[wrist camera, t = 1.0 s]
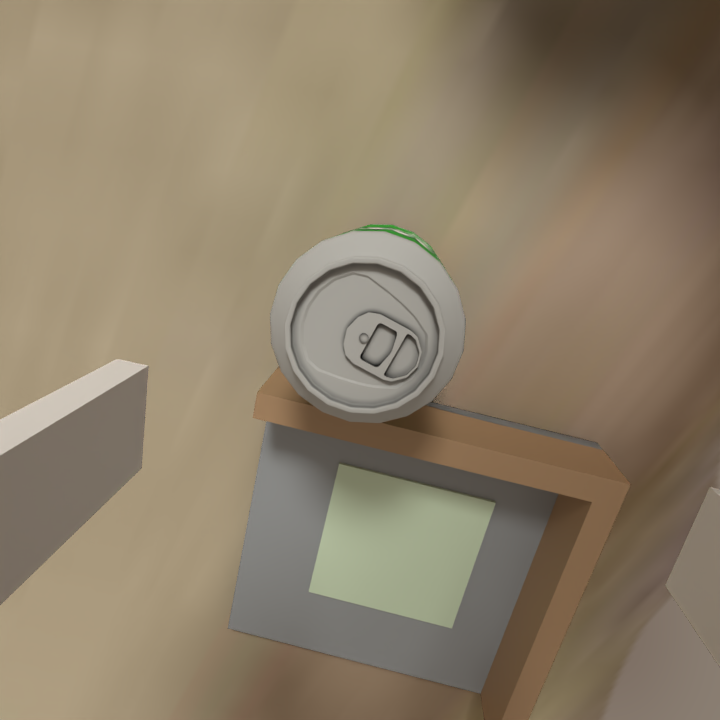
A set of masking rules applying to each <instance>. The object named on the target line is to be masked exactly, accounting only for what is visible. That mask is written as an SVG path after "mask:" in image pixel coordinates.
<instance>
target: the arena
mask: <svg viewBox="0 0 720 720" xmlns="http://www.w3.org/2000/svg"><path fill="white" fill-rule="evenodd" d="M253 418H256V419H260V420H264V421H267V422H266V427H265V432H264V438H263V443H262V448H261V454H260V459H259V464H258V470H257V475H256V481H255V486H254V491H253V497H252V502H251V507H250V513H249V518H248V523H247V529H246V534H245V540H244V545H243V550H242V556H241V561H240V566H239V572H238V577H237V582H236V588H235V593H234V599H233V604H232V609H231V615H230V620H229V625H228V628H229V629H233V630H236V631H240V632H244V633H248V634H252V635H256V636H260V637H263V638H267V639H271V640H275V641H279V642H283V643H287V644H291V645H294V646H298V647H302V648H306V649H310V650H314V651H318V652H321V653H325V654H329V655H333V656H337V657H341V658H345V659H348V660H352V661H356V662H360V663H364V664H368V665H372V666H375V667H379V668H383V669H387V670H391V671H395V672H399V673H402V674H406V675H410V676H414V677H418V678H422V679H426V680H429V681H433V682H437V683H441V684H445V685H449V686H453V687H456V688H460V689H464V690H468V691H472V692H476V693H480V694H481V700H482V707H483V714H484V720H528V719H529V717H530V715H531V712H532V710H533V708H534V706H535V703H536V701H537V699H538V696H539V694H540V692H541V689H542V687H543V685H544V683H545V680H546V678H547V676H548V673H549V671H550V669H551V667H552V664H553V662H554V660H555V657H556V655H557V653H558V651H559V648H560V646H561V644H562V641H563V639H564V637H565V634H566V632H567V630H568V628H569V625H570V623H571V621H572V618H573V616H574V614H575V612H576V609H577V607H578V605H579V602H580V600H581V598H582V595H583V593H584V591H585V589H586V586H587V584H588V582H589V579H590V577H591V575H592V573H593V570H594V568H595V566H596V563H597V561H598V559H599V556H600V554H601V552H602V550H603V547H604V545H605V543H606V540H607V538H608V536H609V534H610V531H611V529H612V527H613V524H614V522H615V520H616V517H617V515H618V513H619V511H620V508H621V506H622V504H623V501H624V499H625V497H626V495H627V492H628V490H629V488H630V485H631V484H630V483H629V482H628V480H627V479H626V478H625V477H624V476H623V474H622V473H621V472H620V471H619V469H618V468H617V467H616V466H615V464H614V463H613V462H612V461H611V459H610V458H609V457H608V456H607V454H606V453H605V452H604V451H603V450H602V448H601V447H600V446H599V445H598V443H596V442H592V441H588V440H584V439H580V438H576V437H572V436H568V435H563V434H559V433H555V432H551V431H547V430H543V429H539V428H535V427H531V426H527V425H523V424H519V423H515V422H511V421H506V420H502V419H498V418H494V417H490V416H486V415H482V414H478V413H474V412H470V411H466V410H462V409H458V408H454V407H449V406H445V405H441V404H437V403H433V402H430V403H428V404H426V405H425V406H423V407H421V408H420V409H418V410H417V411H415V412H413V413H412V414H410V415H408V416H406V417H402V418H398V419H394V420H390V421H386V422H382V423H365V422H349V421H346V420H343V419H341V418H338V417H335V416H332V415H329V414H327V413H324V412H322V411H320V410H319V409H317V408H316V407H315V406H313V405H312V404H311V403H309V402H308V401H307V400H305V399H304V398H302V397H301V396H300V395H298V393H297V392H296V391H295V389H294V388H293V387H292V385H291V384H290V383H289V381H288V380H287V379H286V377H285V376H284V375H283V373H282V372H281V370H280V367H278V368H277V369H276V370H275V372H274V373H273V374H272V375H271V376H270V378H269V379H268V380H267V381H266V382H265V384H264V385H263V386H262V387H261V388H260V390H259V391H258V392H257V397H256V403H255V408H254V414H253ZM339 462H340V463H344V464H348V465H352V466H356V467H360V468H364V469H368V470H372V471H376V472H380V473H384V474H388V475H392V476H396V477H400V478H404V479H408V480H412V481H416V482H420V483H424V484H428V485H432V486H436V487H440V488H444V489H448V490H452V491H456V492H460V493H464V494H468V495H472V496H476V497H480V498H484V499H488V500H492V501H495V502H496V504H495V507H494V510H493V512H492V515H491V518H490V521H489V524H488V527H487V529H486V532H485V535H484V538H483V541H482V544H481V547H480V549H479V552H478V555H477V558H476V561H475V564H474V567H473V569H472V572H471V575H470V578H469V581H468V584H467V587H466V589H465V592H464V595H463V598H462V601H461V604H460V606H459V609H458V612H457V615H456V618H455V621H454V624H453V626H452V629H451V628H448V627H444V626H440V625H436V624H432V623H428V622H424V621H420V620H416V619H412V618H409V617H405V616H401V615H397V614H393V613H389V612H385V611H381V610H377V609H373V608H370V607H366V606H362V605H358V604H354V603H350V602H346V601H342V600H338V599H334V598H331V597H327V596H323V595H319V594H315V593H311V592H309V588H310V583H311V579H312V575H313V571H314V567H315V562H316V558H317V554H318V550H319V546H320V542H321V537H322V533H323V529H324V525H325V521H326V516H327V512H328V508H329V504H330V500H331V496H332V491H333V487H334V483H335V479H336V475H337V470H338V466H339Z"/></svg>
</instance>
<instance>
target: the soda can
mask: <svg viewBox="0 0 720 720" xmlns="http://www.w3.org/2000/svg"><path fill="white" fill-rule="evenodd" d="M270 325H271V345H272V348H273V350H274V353H275V356H276V359H277V362H278V364H279V367H280V370H281V372H282V373H283V375H284V376H285V377H286V379H287V380H288V381H289V383H290V384H291V385H292V387H293V388H294V389H295V391H296V392H297V393H298V395H300V396H301V397H302V398H304V399H305V400H307V401H308V402H309V403H311V404H312V405H313V406H315V407H316V408H317V409H319V410H320V411H322V412H324V413H327V414H329V415H332V416H335V417H338V418H341V419H343V420H346V421H349V422H365V423H382V422H386V421H390V420H394V419H398V418H402V417H406V416H408V415H410V414H412V413H413V412H415V411H417V410H418V409H420V408H421V407H423V406H425V405H426V404H428V403H430V402H431V401H433V400H434V398H435V397H436V396H437V395H438V394H439V393H440V391H441V390H442V389H443V388H444V387H445V386H446V385H447V383H448V382H449V381H450V380H451V379H452V377H453V374H454V372H455V370H456V367H457V365H458V362H459V360H460V358H461V355H462V353H463V351H464V338H465V325H466V319H465V315H464V311H463V307H462V303H461V299H460V295H459V292H458V289H457V287H456V286H455V284H454V282H453V281H452V279H451V277H450V276H449V274H448V273H447V271H446V269H445V268H444V266H443V264H442V263H441V261H440V260H439V258H438V257H437V255H436V254H435V252H434V251H433V249H432V248H431V246H430V245H429V244H428V243H426V242H425V241H424V240H423V239H421V238H420V237H419V236H418V235H416V234H415V233H414V232H412V231H409V230H406V229H403V228H400V227H398V226H395V225H380V224H370V225H367V226H364V227H361V228H358V229H355V230H351V231H349V232H346V233H343V234H340V235H337V236H334V237H331V238H329V239H326V240H323V241H321V242H319V243H318V244H317V245H315V246H314V247H313V248H311V249H310V250H309V251H307V252H306V253H304V254H303V255H302V256H300V257H299V258H298V259H296V261H295V262H294V263H293V265H292V266H291V268H290V269H289V271H288V272H287V273H286V275H285V276H284V278H283V279H282V281H281V282H280V283H279V285H278V289H277V292H276V296H275V299H274V302H273V306H272V309H271V313H270Z"/></svg>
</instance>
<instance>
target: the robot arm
mask: <svg viewBox="0 0 720 720" xmlns="http://www.w3.org/2000/svg"><path fill="white" fill-rule="evenodd" d="M147 380H148V366H147V365H143V364H138V363H133V362H129V361H124V360H120V359H116V360H114V361H112V362H110V363H108V364H106V365H105V366H103V367H101V368H99V369H97V370H95V371H93V372H91V373H89V374H87V375H85V376H83V377H81V378H79V379H77V380H76V381H74V382H72V383H70V384H68V385H66V386H64V387H62V388H60V389H58V390H56V391H54V392H52V393H50V394H49V395H47V396H45V397H43V398H41V399H39V400H37V401H35V402H33V403H31V404H29V405H27V406H25V407H23V408H22V409H20V410H18V411H16V412H14V413H12V414H10V415H8V416H6V417H4V418H2V419H0V605H1V604H2V603H3V602H4V601H5V600H6V599H7V598H8V597H9V596H10V595H11V594H12V593H13V592H14V591H15V590H16V589H17V588H18V587H19V586H21V585H22V584H23V583H24V582H25V581H26V580H27V579H28V578H29V577H30V576H31V575H32V574H33V573H34V572H35V571H36V570H37V569H38V568H39V567H40V566H41V565H42V564H43V563H44V562H45V561H46V560H47V559H48V558H49V557H50V556H51V555H53V554H54V553H55V552H56V551H57V550H58V549H59V548H60V547H61V546H62V545H63V544H64V543H65V542H66V541H67V540H68V539H69V538H70V537H71V536H72V535H73V534H74V533H75V532H76V531H77V530H78V529H79V528H80V527H81V526H82V525H83V524H85V523H86V522H87V521H88V520H89V519H90V518H91V517H92V516H93V515H94V514H95V513H96V512H97V511H98V510H99V509H100V508H101V507H102V506H103V505H104V504H105V503H106V502H107V501H108V500H109V499H110V498H111V497H112V496H113V495H114V494H115V493H117V492H118V491H119V490H120V489H121V488H122V487H123V486H124V485H125V484H126V483H127V482H128V481H129V480H130V479H131V478H132V477H133V476H134V475H135V474H136V473H137V472H138V471H139V470H140V469H141V468H142V453H143V438H144V424H145V409H146V395H147ZM665 586H666V588H667V589H668V591H669V592H670V594H671V595H672V597H673V598H674V600H675V601H676V603H677V604H678V606H679V607H680V609H681V610H682V612H683V613H684V614H685V616H686V618H687V619H688V621H689V622H690V624H691V625H692V626H693V628H694V630H695V631H696V633H697V634H698V635H699V637H700V639H701V640H702V641H703V643H704V644H705V646H706V647H707V649H708V651H709V652H710V653H711V655H712V657H713V658H714V659H715V661H716V663H717V664H718V665H719V667H720V489H717V488H712V487H710V488H709V490H708V492H707V494H706V496H705V499H704V501H703V503H702V505H701V507H700V510H699V512H698V514H697V516H696V518H695V521H694V523H693V525H692V527H691V529H690V532H689V534H688V536H687V538H686V540H685V543H684V545H683V547H682V549H681V551H680V554H679V556H678V558H677V560H676V562H675V565H674V567H673V569H672V571H671V573H670V576H669V578H668V580H667V582H666V584H665Z"/></svg>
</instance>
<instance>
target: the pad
mask: <svg viewBox="0 0 720 720" xmlns="http://www.w3.org/2000/svg"><path fill="white" fill-rule="evenodd" d="M495 504H496V502H495V501H492V500H488V499H484V498H480V497H476V496H472V495H468V494H464V493H460V492H456V491H452V490H448V489H444V488H440V487H436V486H432V485H428V484H424V483H420V482H416V481H412V480H408V479H404V478H400V477H396V476H392V475H388V474H384V473H380V472H376V471H372V470H368V469H364V468H360V467H356V466H352V465H348V464H344V463H340V462H339V466H338V470H337V475H336V479H335V483H334V487H333V491H332V496H331V500H330V504H329V508H328V512H327V516H326V521H325V525H324V529H323V533H322V537H321V542H320V546H319V550H318V554H317V558H316V562H315V567H314V571H313V575H312V579H311V583H310V588H309V592H311V593H315V594H319V595H323V596H327V597H331V598H334V599H338V600H342V601H346V602H350V603H354V604H358V605H362V606H366V607H370V608H373V609H377V610H381V611H385V612H389V613H393V614H397V615H401V616H405V617H409V618H412V619H416V620H420V621H424V622H428V623H432V624H436V625H440V626H444V627H448V628H451V629H452V626H453V624H454V621H455V618H456V615H457V612H458V609H459V606H460V604H461V601H462V598H463V595H464V592H465V589H466V587H467V584H468V581H469V578H470V575H471V572H472V569H473V567H474V564H475V561H476V558H477V555H478V552H479V549H480V547H481V544H482V541H483V538H484V535H485V532H486V529H487V527H488V524H489V521H490V518H491V515H492V512H493V510H494V507H495Z"/></svg>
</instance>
